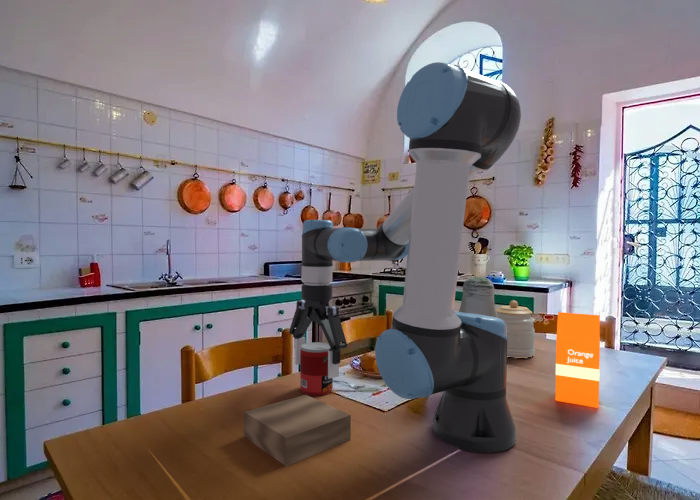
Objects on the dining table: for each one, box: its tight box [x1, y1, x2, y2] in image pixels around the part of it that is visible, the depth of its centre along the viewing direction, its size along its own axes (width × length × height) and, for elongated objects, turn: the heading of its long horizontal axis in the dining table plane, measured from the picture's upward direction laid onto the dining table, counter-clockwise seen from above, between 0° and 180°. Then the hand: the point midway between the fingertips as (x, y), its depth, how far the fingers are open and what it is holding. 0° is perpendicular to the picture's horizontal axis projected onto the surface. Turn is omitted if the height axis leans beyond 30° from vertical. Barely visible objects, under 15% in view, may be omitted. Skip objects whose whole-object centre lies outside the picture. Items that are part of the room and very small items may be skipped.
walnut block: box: [243, 394, 352, 467], centre depth 79 cm, size 14×14×5 cm
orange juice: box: [554, 311, 601, 409], centre depth 100 cm, size 8×9×20 cm
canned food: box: [299, 341, 334, 397], centre depth 104 cm, size 8×8×11 cm
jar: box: [495, 300, 536, 357], centre depth 140 cm, size 13×13×18 cm
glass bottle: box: [458, 276, 498, 318], centre depth 105 cm, size 10×10×28 cm
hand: (315, 370), depth 105 cm, fingers open, 13 cm apart
